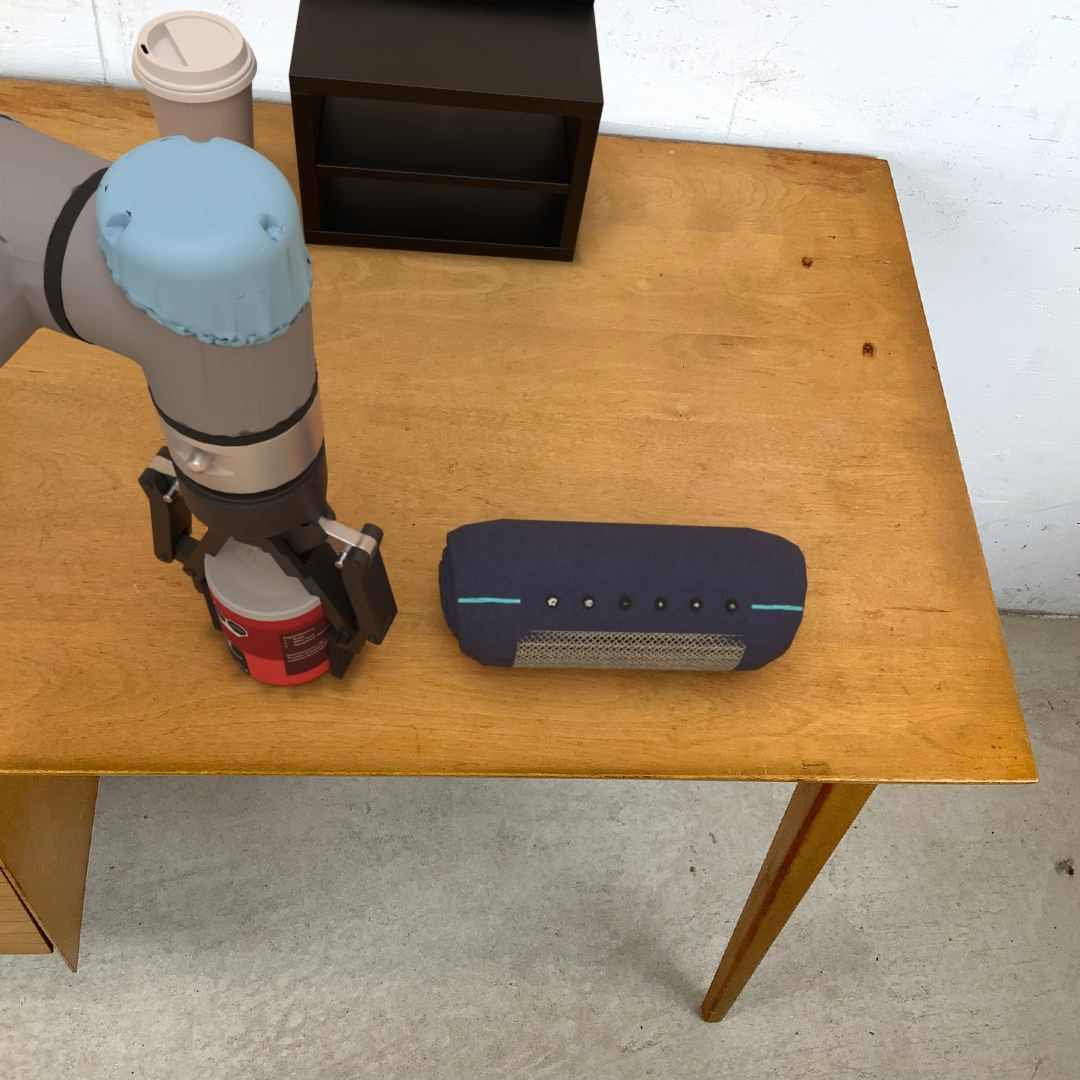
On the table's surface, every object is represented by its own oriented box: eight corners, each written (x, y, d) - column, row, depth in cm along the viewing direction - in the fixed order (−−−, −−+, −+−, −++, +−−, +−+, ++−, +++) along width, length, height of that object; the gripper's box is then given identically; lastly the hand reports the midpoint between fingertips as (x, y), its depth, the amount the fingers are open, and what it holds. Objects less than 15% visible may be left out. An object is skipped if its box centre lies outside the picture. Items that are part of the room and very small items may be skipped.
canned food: (238, 585, 71) (216, 499, 62) (353, 594, 72) (347, 511, 63) (217, 685, 67) (190, 610, 58) (338, 694, 68) (330, 621, 59)
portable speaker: (434, 690, 69) (439, 625, 61) (436, 563, 74) (441, 487, 66) (786, 694, 72) (838, 633, 64) (765, 573, 77) (811, 501, 69)
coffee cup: (167, 158, 93) (132, 0, 80) (274, 161, 95) (256, 7, 82) (159, 231, 88) (119, 75, 76) (272, 233, 90) (251, 81, 77)
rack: (572, 262, 93) (608, 79, 77) (304, 243, 90) (285, 49, 74) (565, 160, 100) (597, -25, 84) (317, 140, 97) (302, -56, 81)
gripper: (14, 420, 49) (120, 627, 69) (409, 573, 48) (404, 741, 67) (102, 318, 53) (179, 541, 72) (469, 455, 52) (448, 646, 71)
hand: (287, 637), depth 70 cm, fingers closed on canned food, 8 cm apart
